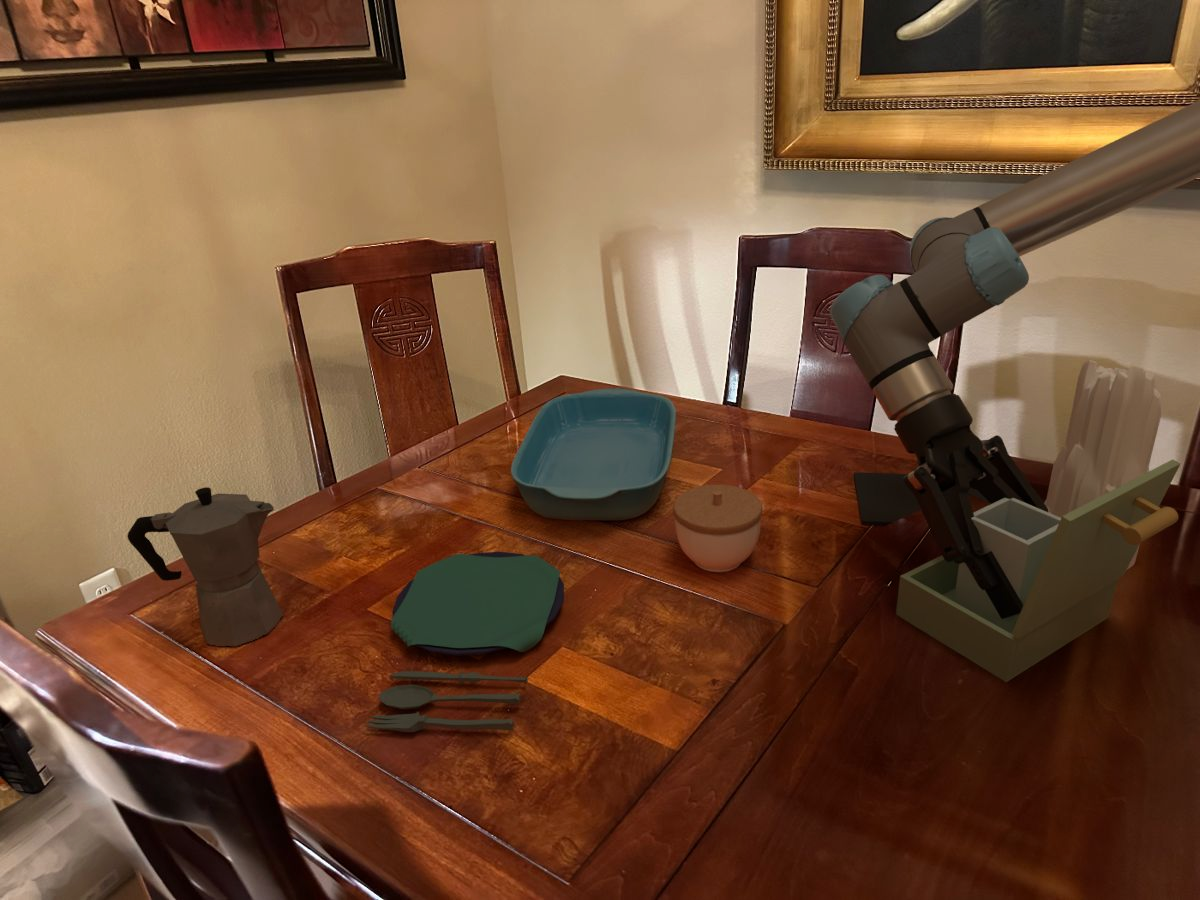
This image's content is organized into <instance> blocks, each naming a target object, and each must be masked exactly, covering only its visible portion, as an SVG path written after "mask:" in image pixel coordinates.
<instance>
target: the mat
mask: <svg viewBox="0 0 1200 900" xmlns="http://www.w3.org/2000/svg"><path fill="white" fill-rule="evenodd" d="M907 474H908V473H892V472H891V473H890V472H889V473H886V472H861V471H860V472H859V471H854V472H853V480H854V487H855V493H856V499H857V500H856V501H857V506H858V513H859V521H860V524H861V525H862V526H880V527H881V526H884V527H886V526H888V525H890V524H893V523H895V522H897V521H899V520H902V519H904V518H906V517H908V516H911V515H913V514H915V513H917V512H920V511H922V510H921V508H920V506H919V504H918V501H917V499H916V497H915V495H914V494H913V493H912V492H911V491H910V489H909V488H908V487H907V486H906V484H905V483H904V481H903V477H904V476H906V475H907ZM968 495H970V496H972V497H975V498H978V499H980V500H982V501H983V502H987V503H988V504H991V503H990V502H989V501H988V500H987V499H986V498H985V497H984V496H983V495H982V494H981V493H980V492H979V491H978V490H976V489H972V488H970V490H969V491H968Z"/></svg>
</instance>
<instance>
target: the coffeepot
mask: <svg viewBox="0 0 1200 900" xmlns="http://www.w3.org/2000/svg"><path fill="white" fill-rule="evenodd" d="M194 493H195V495H196V497H197V498H198V499H195V500H191V501H188V502H185V503H184V504H182V505H181V506H179V507H178V508H177V509H176V510H174V511H173V512H170V511H169V512H162V513H155V514H154V515H151V516H150V515H148V516H147V515H146V516H141V517H137V518H136V520H135V522H134V523H133V524H132V526H131V528H130V529H129V530H128V532H127V540H128V542H129V543H130V544H131V546H132V547H133V548H134V549H135V550H136V551H137V552H138V553H139V554H140V556H141V557H142V558H143V559H144V561H145V562H146V563H147V564H148V565H149V567H150V568H151V569H152V570H153V571H154V573H155V574H156V575H157V576H158V577H159V578H160V580H162V581H164V582H166V581H167V582H169V581H176V580H180V579H181V578H182V574H183V573H182V570H178V571H171V570H169V569H168V567H167V565H166V562H165V560H164V558H163V557H162V556H161V555H160V554H158V552H157V551H156V549H155V547H154V545H153V543H152V542H151V541H150V539H149V538H148V537H147V536H146V534H148V533H169V535H171V537H172V539H173V541H174V543H175V545H176V546H177V548H178V550H179V552H180V554H181V557H182V558H183V560H184V562H185V564H186V566H187V568H188V570H189V571H190V573H191V575H192V577H193V579H194V580H195V581H196V584H195V588H196V590H195V591H196V598H197V608H198V616H199V626H200V630H201V633H202V634H203V638H204V640H205V642H206V644H207V645H210V646H213V645H218V646H235V647H239V645H240V646H243V645H242V644H244V643H247V642H250V641H253V640H255V639H257V638H260V637H261V636H263V635H265V636H267V635H268V634H269V633H270V632H272V631H273V630H274V629H275V628H276V627H277V626H276V625H278V624H279V623H280V622H281V621H280V620H281V618H283V616H284V612H283V611H282V608H281V607H280V605H279V603H278V601H277V598H276V597H275V595H274V593H273V591H272V589H271V587H270V585H269V583H268V581H267V579H266V576H265V575H264V573H263V571H262V569H261V567H260V565H259V562H258V560H259V558H260V557H261V556H260V547H259V546H260V545H259V537H260V535H261V533H262V529H263V528H264V527H263V526H264V524H265V522H266V519H267V518H268V516H269V514H270V513H272V512H273V511H274V510H275V507H274V505H272V503H270V502H265V501H263V500H261V501H259V500H251V499H250V497H249V496H248V494H244V493H243V494H242V493H241V494H240V493H239V494H238V493H214V494H212V489H211V487H207V486H205V487H200V488H198V489H197V490H195V491H194ZM278 622H279V623H278ZM275 626H276V627H275ZM274 627H275V628H274ZM273 628H274V629H273ZM272 629H273V630H272ZM271 630H272V631H271ZM263 637H264V636H263ZM261 638H262V637H261ZM261 638H260V639H261ZM257 640H258V639H257ZM255 641H256V640H255ZM253 642H254V641H253ZM250 643H251V642H250ZM247 644H248V643H247ZM244 645H245V644H244ZM218 646H217V647H218Z"/></svg>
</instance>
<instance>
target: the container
mask: <svg viewBox="0 0 1200 900" xmlns="http://www.w3.org/2000/svg"><path fill="white" fill-rule="evenodd" d="M973 514H974V517H972V518H971V519H972V521H973V522H974V524H975V526H976V527H977V529H978V531H979V535H980V539H981V542H982V546H983V549H984V553H983V554H986V553H988V552H991V551H992V553H993V554H994V556H995V558H996V559H997V561H998V563H999V565H1000V566H1001V568H1002V570H1003V571H1004V573H1005V575H1006V577H1007V578H1008V580H1009V582H1010V583H1011V585H1012V587H1013V589H1014V590H1015V592H1016V594H1017V595H1018V597H1019V599H1020V600H1021V602H1022V604H1023V605H1024V603H1025V601H1026V599H1027V596H1028V594H1029V592H1030V589H1031V587H1032V585H1033V583H1034V580H1035V578H1036V576H1037V573H1038V571H1039V569H1040V566H1041V564H1042V562H1043V559H1044V557H1045V555H1046V553H1047V550H1048V548H1049V546H1050V543H1051V541H1052V539H1053V536H1054V534H1055V532H1056V529H1057V527H1058V525H1059V523H1060V520H1061V518H1060V517H1058V516H1055V515H1053V514H1051V513H1048V512H1046V511H1044V510H1041V509H1039V508H1036V507H1034V506H1032V505H1029V504H1027V503H1025V502H1022V501H1020V500H1017V499H1015V498H1012V499H1007V498H1003V499H1001V500H999V501H997V502H995V503H993V504H991V503H989V504H988V505H986V506H984V507H982V508H980V509H977V510H976V511H973ZM967 545H969V543H968V544H967ZM954 602H956V603H957V604H959V605H961V606H963V607H964V608H966V609H968V610H970V611H972V612H973V613H975V614H977V615H979V616H980V617H982V618H984V619H986V620H988V621H989V622H991V623H993V624H995V625H997V626H998V627H1000V628H1002V629H1004V630H1005V631H1007V632H1009V633H1012V631H1013V629H1014V626H1015V624H1016V622H1017V620H1018V617H1019V615H1020V614H1017V615H1013V616H1010V617H1007V618H1004V619H1001V617H1000V616H999V614H998V612H997V610H996V609H995V607H994V605H993V603H992V602H991V600H990V598H989V596H988V595H987V593H986V591H985V590H982V589H981V588H980V587H979V586H978V584H977V582H976V581H975V579H974V577H973V575H972V574H971V572H970V570H969V568H968V567H967V565H966V564H965V563H961V564H959V569H958V576H957V583H956V589H955V596H954Z"/></svg>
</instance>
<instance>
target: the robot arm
mask: <svg viewBox="0 0 1200 900" xmlns="http://www.w3.org/2000/svg"><path fill="white" fill-rule="evenodd" d="M1199 178H1200V100H1197V101H1195V102H1192V103H1191V104H1189V105H1187V106H1185V107H1183V108H1181V109H1179V110H1176V111H1174V112H1172V113H1170V114H1168V115H1165V116H1164V117H1162V118H1160V119H1158V120H1155V121H1153V122H1151V123H1149V124H1147V125H1145V126H1143V127H1141V128H1139V129H1137V130H1134V131H1132V132H1130V133H1128V134H1127V135H1124V136H1122V137H1120V138H1118V139H1115V140H1114V141H1111V142H1110V143H1107V144H1105V145H1103V146H1101V147H1098V148H1097V149H1094V150H1093V151H1091V152H1089V153H1085V154H1084V155H1082V156H1080V157H1078V158H1076V159H1074V160H1072V161H1070V162H1067V163H1066V164H1064V165H1061V166H1059V167H1057V168H1055V169H1053V170H1051V171H1049V172H1046V173H1045V174H1042V175H1040V176H1038V177H1036V178H1034V179H1032V180H1030V181H1027V182H1026V183H1024V184H1021V185H1020V186H1019V185H1018V187H1015V188H1013V189H1011V190H1009V191H1007V192H1004V193H1002V194H1001V195H999V196H996V197H995V198H992V199H990V200H988V201H986V202H983V203H982V204H980V205H978V206H976V207H973V208H970V209H969V210H966V211H964V212H962V213H961V214H958V215H956V216H954V217H948V216H947V217H945V216H943V217H936V218H932V219H930V220H929V221H926V222H925V223H923V224H922V225H921V226H920V227H918V229H917V230H916V232H915V233H914V235H913V236H912V238H911V241H910V244H909V258H910V266H911V268H912V271H913V272H914V273H912V274H910V275H909V276H908V277H905V278H903V279H902V280H900V281H897V282H895V283H893V282H892V281H891V280H890V279H889V278H888V277H887V276H885V275H884V274H874V275H871V276H868V277H866V278H864V279H863V280H861V281H858V282H856V283H854V284H852V285H851V286H849V287H847V288H846V289H844V290H843V291H842V292H841V293H840V294H839V295H837V297H835V299H834V300H833V301H832V303H831V306H830V310H829V314H830V317H831V320H832V322H833V323H834V325H835V327H836V330H837V331H838V333H839V335H840V337H841V342H842V344H843V345H844V346H845V348H846V349H847V351H848V353H849V354H850V355H851V358H852V360H853V361H854V363H855V364H856V366H857V367H858V369H859V371H860V373H861V374H862V376H863V378H864V379H865V381H866V383H867V385H868V386H869V388H870V390H871V391H872V392H873V395H874V396H875V398H876V400H877V401H878V403H879V405H880V407H881V409H882V410H883V412H884V413H885V415H886V417H887V419H888V420H889V421H892V422H895V421H896V423H895V424H894V428H893V430H894V432H895V434H896V435H897V437H898V439H899V440H900V442H901V444H902V445H903V448H904V449H905V450H906V452H907V453H908V454H911V455H913V454H914V455H915V456H916V459H917V465H918V467H916V469H914V470H912V471H911V472H909V473H906V474H907V475H906V476H904V477H903V481H904V483H905V484H906V486H907V487H908V488H909V489H910V491H911V492H912V493H913V494H914V495H915V497H916V499H917V501H918V504H919V506H920V508H921V510H920V511H921V512H922V515H923V517H924V519H925V521H926V523H927V525H928V527H929V529H930V532H931V534H932V536H933V538H934V540H935V543H936V545H937V547H938V550H939V551H940V553H941V555H942V556H943V558H944V559H945V560H946V561H947V562H951V561H954V562H955V563H957V564H961V563H965V564H966V565H967V567H968V568H969V570H970V572H971V574H972V575H973V577H974V579H975V581H976V582H977V584H978V586H979V587H980V588H981V589H982V590H985V591H986V593H987V595H988V596H989V598H990V600H991V602H992V603H993V605H994V607H995V609H996V610H997V612H998V614H999V616H1000V617H1001V619H1004V618H1007V617H1010V616H1013V615H1017V614H1020V613H1021V610H1022V608H1023V606H1024V605H1023V604H1022V602H1021V600H1020V599H1019V597H1018V595H1017V594H1016V592H1015V590H1014V589H1013V587H1012V585H1011V583H1010V582H1009V580H1008V578H1007V577H1006V575H1005V573H1004V571H1003V570H1002V568H1001V566H1000V565H999V563H998V561H997V559H996V558H995V556H994V554H993V553H992V551H991V552H988V553H986V554H983V553H984V549H983V546H982V542H981V539H980V535H979V531H978V529H977V527H976V526H975V524H974V522H973V521H972V519H971V518H972V517H974V514H973V513H974V511H973V510H974V509H973V507H972V503H971V499H970V496H969V494H968V491H969V490H970V488H972V489H976V490H978V491H979V492H980V493H981V494H982V495H983V496H984V497H985V498H986V499H987V500H988V501H989V502H990V503H989V504H993V503H995V502H997V501H999V500H1001V499H1003V498H1007V499H1012V498H1015V499H1017V500H1020V501H1022V502H1025V503H1027V504H1029V505H1032V506H1034V507H1036V508H1039V509H1041V510H1044V511H1046V512H1048V508H1047V507H1046V505H1045V504H1044V503H1045V502H1044V501H1043V499H1042V498H1041V497H1040V496H1039V494H1038V492H1037V491H1036V490H1035V489H1034V488H1033V485H1032V484H1031V483H1030V482H1029V480H1028V479H1027V477H1026V476H1025V475H1024V474H1023V472H1022V470H1021V469H1020V468H1019V467H1018V465H1017V464H1016V462H1015V461H1014V459H1013V458H1012V456H1010V454H1009V452H1008V450H1007V448H1006V444H1005V443H1004V440H1003V438H1002V437H1001V436H1000V435H997V434H996V435H994V436H992V437H990V438H988V439H980V437H978V436H977V435H976V434H975V433H974V432H973V431H972V429H971V425H972V424H973V421H974V419H973V416H972V415H971V413H970V411H969V410H968V408H967V407H966V405H965V403H964V401H963V400H962V398H961V396H960V395H958V394H957V393H952V390H953V389H954V384H953V382H952V381H951V379H950V378H949V376H948V374H947V373H946V371H945V370H944V368H943V366H942V365H941V363H940V362H939V360H938V359H937V356H936V355H935V354H934V352H933V350H931V348H930V345H929V344H930V343H932V342H934V341H935V340H937V339H939V338H941V337H942V336H944V335H946V334H948V333H950V332H951V331H954V330H955V329H956V328H958V327H960V326H962V325H964V324H965V323H967V322H969V321H971V320H973V319H975V318H976V317H978V316H980V315H981V314H984V313H985V312H987V311H989V310H990V309H993V308H995V307H996V306H1000V305H1001V304H1004V303H1005V301H1007V300H1008V299H1009V298H1011V297H1012V296H1014V295H1015V294H1017V293H1019V292H1020V291H1021V290H1023V289H1024V288H1026V286H1027V285H1028V284H1029V282H1030V281H1029V280H1030V275H1029V272H1028V270H1027V268H1026V266H1025V264H1024V262H1023V261H1022V259H1021V257H1023V256H1025V255H1026V254H1029V253H1031V252H1033V251H1035V250H1038V249H1040V248H1042V247H1044V246H1047V245H1049V244H1051V243H1053V242H1056V241H1059V240H1060V239H1062V238H1065V237H1067V236H1070V235H1073V234H1075V233H1077V232H1079V231H1081V230H1084V229H1086V228H1088V227H1090V226H1092V225H1095V224H1097V223H1099V222H1101V221H1104V220H1107V219H1109V218H1111V217H1113V216H1115V215H1118V214H1120V213H1122V212H1124V211H1127V210H1128V209H1131V208H1133V207H1135V206H1138V205H1140V204H1142V203H1145V202H1147V201H1149V200H1151V199H1154V198H1155V197H1158V196H1160V195H1162V194H1165V193H1167V192H1169V191H1171V190H1174V189H1176V188H1179V187H1181V186H1183V185H1185V184H1187V183H1189V182H1192V181H1194V180H1197V179H1199ZM968 543H969V545H967V544H968Z"/></svg>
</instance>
